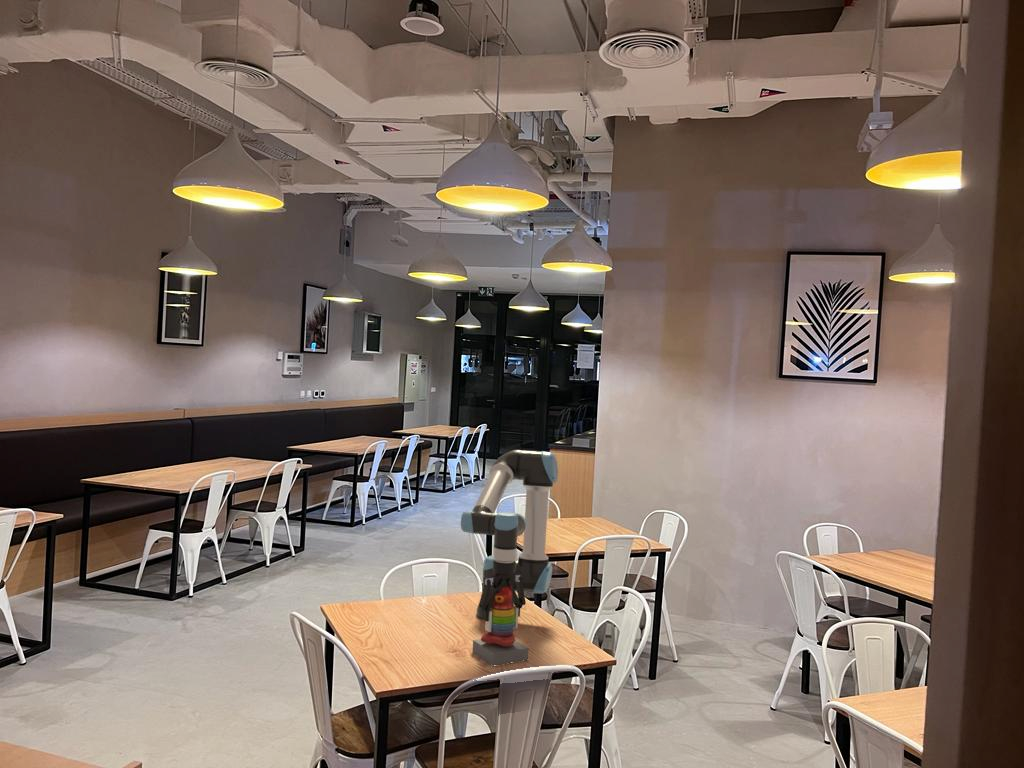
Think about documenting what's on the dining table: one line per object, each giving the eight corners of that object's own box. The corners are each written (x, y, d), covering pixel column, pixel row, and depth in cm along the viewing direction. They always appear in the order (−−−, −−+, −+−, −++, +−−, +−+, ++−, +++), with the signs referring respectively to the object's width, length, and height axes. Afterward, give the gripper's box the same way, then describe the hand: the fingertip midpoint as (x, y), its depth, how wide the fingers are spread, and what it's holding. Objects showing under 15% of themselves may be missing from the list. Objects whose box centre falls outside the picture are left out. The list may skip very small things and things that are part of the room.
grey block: (506, 646, 247) (506, 634, 247) (528, 660, 235) (528, 648, 235) (472, 652, 240) (473, 640, 240) (493, 666, 228) (494, 653, 228)
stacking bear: (478, 641, 234) (481, 586, 235) (490, 632, 244) (493, 580, 244) (510, 647, 231) (512, 591, 231) (520, 637, 240) (523, 584, 241)
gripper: (526, 555, 247) (523, 621, 246) (469, 560, 235) (466, 629, 235) (538, 560, 240) (535, 627, 240) (480, 565, 229) (477, 636, 229)
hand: (501, 628), depth 238 cm, fingers open, 9 cm apart
